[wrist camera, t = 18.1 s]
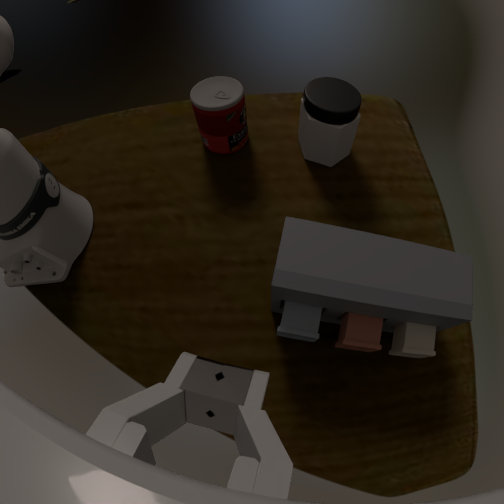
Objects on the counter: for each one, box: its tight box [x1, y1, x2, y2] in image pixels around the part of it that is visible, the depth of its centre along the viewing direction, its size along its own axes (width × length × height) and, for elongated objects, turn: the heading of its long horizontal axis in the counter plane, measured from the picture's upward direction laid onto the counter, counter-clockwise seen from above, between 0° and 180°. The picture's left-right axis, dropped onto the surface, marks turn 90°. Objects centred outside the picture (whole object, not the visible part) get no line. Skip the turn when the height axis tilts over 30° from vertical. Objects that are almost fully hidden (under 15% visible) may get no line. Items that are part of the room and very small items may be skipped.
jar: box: [298, 77, 361, 167], centre depth 44 cm, size 9×8×12 cm
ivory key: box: [389, 322, 436, 358], centre depth 33 cm, size 8×4×4 cm, turn 167°
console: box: [271, 217, 473, 333], centre depth 34 cm, size 7×21×13 cm, turn 77°
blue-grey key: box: [277, 301, 322, 342], centre depth 35 cm, size 8×4×4 cm, turn 167°
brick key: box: [334, 312, 383, 352], centre depth 34 cm, size 8×4×4 cm, turn 167°
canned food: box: [190, 76, 248, 154], centre depth 46 cm, size 8×8×11 cm
